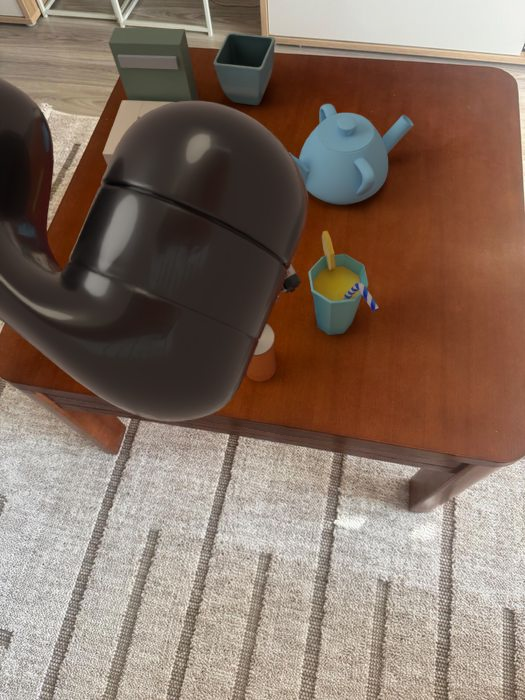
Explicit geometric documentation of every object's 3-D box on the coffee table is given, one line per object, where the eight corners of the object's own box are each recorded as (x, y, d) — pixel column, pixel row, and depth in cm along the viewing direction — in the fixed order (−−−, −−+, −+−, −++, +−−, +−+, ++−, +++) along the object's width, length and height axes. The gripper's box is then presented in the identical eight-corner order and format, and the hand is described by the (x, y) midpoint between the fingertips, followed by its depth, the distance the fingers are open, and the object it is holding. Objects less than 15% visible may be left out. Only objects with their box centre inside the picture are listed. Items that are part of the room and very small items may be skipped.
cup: (387, 349, 73) (406, 291, 60) (339, 374, 72) (348, 320, 59) (334, 277, 79) (341, 209, 66) (289, 299, 78) (287, 234, 64)
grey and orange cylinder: (240, 381, 72) (233, 352, 64) (246, 350, 75) (239, 318, 67) (275, 385, 72) (271, 356, 64) (279, 353, 74) (276, 322, 66)
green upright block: (132, 117, 98) (107, 44, 85) (138, 100, 100) (114, 27, 87) (195, 119, 96) (179, 46, 84) (199, 103, 98) (184, 28, 86)
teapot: (383, 225, 83) (394, 171, 73) (280, 200, 86) (277, 146, 76) (407, 156, 89) (420, 98, 79) (309, 136, 93) (310, 78, 82)
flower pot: (233, 77, 101) (227, 31, 93) (278, 82, 99) (275, 36, 91) (219, 108, 97) (212, 63, 89) (265, 114, 96) (262, 69, 88)
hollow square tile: (109, 171, 92) (102, 153, 88) (128, 118, 98) (122, 99, 94) (183, 175, 90) (178, 157, 87) (197, 121, 96) (193, 102, 92)
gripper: (278, 202, 35) (268, 248, 51) (90, 307, 35) (140, 319, 51) (333, 301, 35) (306, 315, 51) (146, 406, 35) (178, 387, 51)
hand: (223, 317), depth 51 cm, fingers open, 8 cm apart
